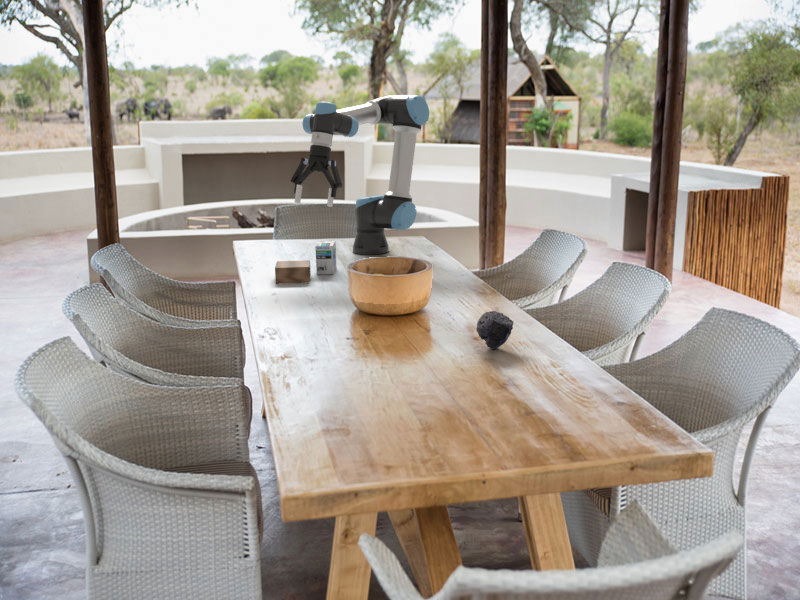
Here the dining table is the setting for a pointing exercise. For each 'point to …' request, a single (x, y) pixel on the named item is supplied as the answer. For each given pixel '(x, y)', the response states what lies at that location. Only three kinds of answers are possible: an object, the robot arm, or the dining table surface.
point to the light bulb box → (326, 257)
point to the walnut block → (292, 271)
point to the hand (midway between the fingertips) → (313, 204)
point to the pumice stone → (494, 328)
